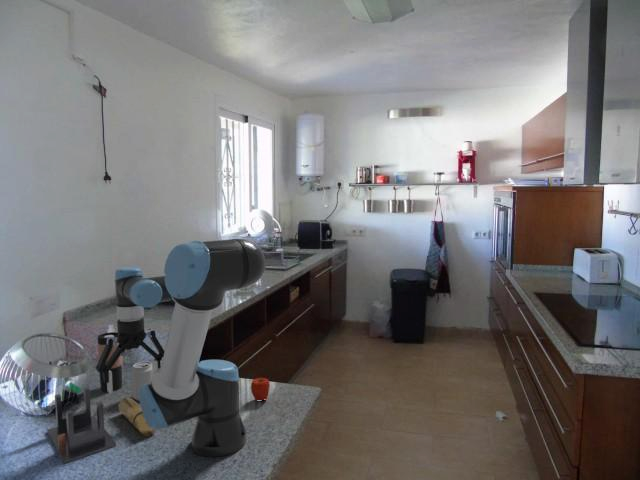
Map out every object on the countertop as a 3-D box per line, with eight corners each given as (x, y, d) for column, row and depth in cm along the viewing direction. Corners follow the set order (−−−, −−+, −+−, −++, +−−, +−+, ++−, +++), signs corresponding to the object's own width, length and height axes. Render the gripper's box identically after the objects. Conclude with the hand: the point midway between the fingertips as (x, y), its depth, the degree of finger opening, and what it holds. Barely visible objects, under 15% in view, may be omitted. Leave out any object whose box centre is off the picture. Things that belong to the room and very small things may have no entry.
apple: (248, 402, 154) (247, 381, 153) (256, 395, 159) (256, 374, 159) (265, 405, 152) (264, 383, 151) (272, 397, 157) (272, 376, 157)
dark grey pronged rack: (116, 445, 127) (114, 405, 126) (64, 463, 119) (61, 420, 118) (94, 418, 144) (92, 382, 143) (47, 432, 135) (44, 394, 134)
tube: (156, 435, 134) (159, 417, 134) (139, 437, 130) (142, 419, 131) (132, 412, 149) (135, 396, 149) (116, 413, 145) (119, 397, 146)
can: (147, 402, 155) (145, 368, 154) (127, 400, 156) (126, 367, 155) (159, 393, 162) (157, 360, 161) (140, 391, 163) (139, 359, 162)
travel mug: (101, 385, 170) (99, 333, 168) (124, 382, 172) (121, 331, 170) (98, 393, 162) (95, 339, 161) (121, 390, 165) (118, 337, 163)
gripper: (165, 309, 148) (168, 372, 150) (82, 323, 131) (85, 393, 133) (175, 313, 142) (177, 378, 144) (89, 329, 126) (93, 402, 128)
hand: (133, 386), depth 139 cm, fingers open, 13 cm apart
